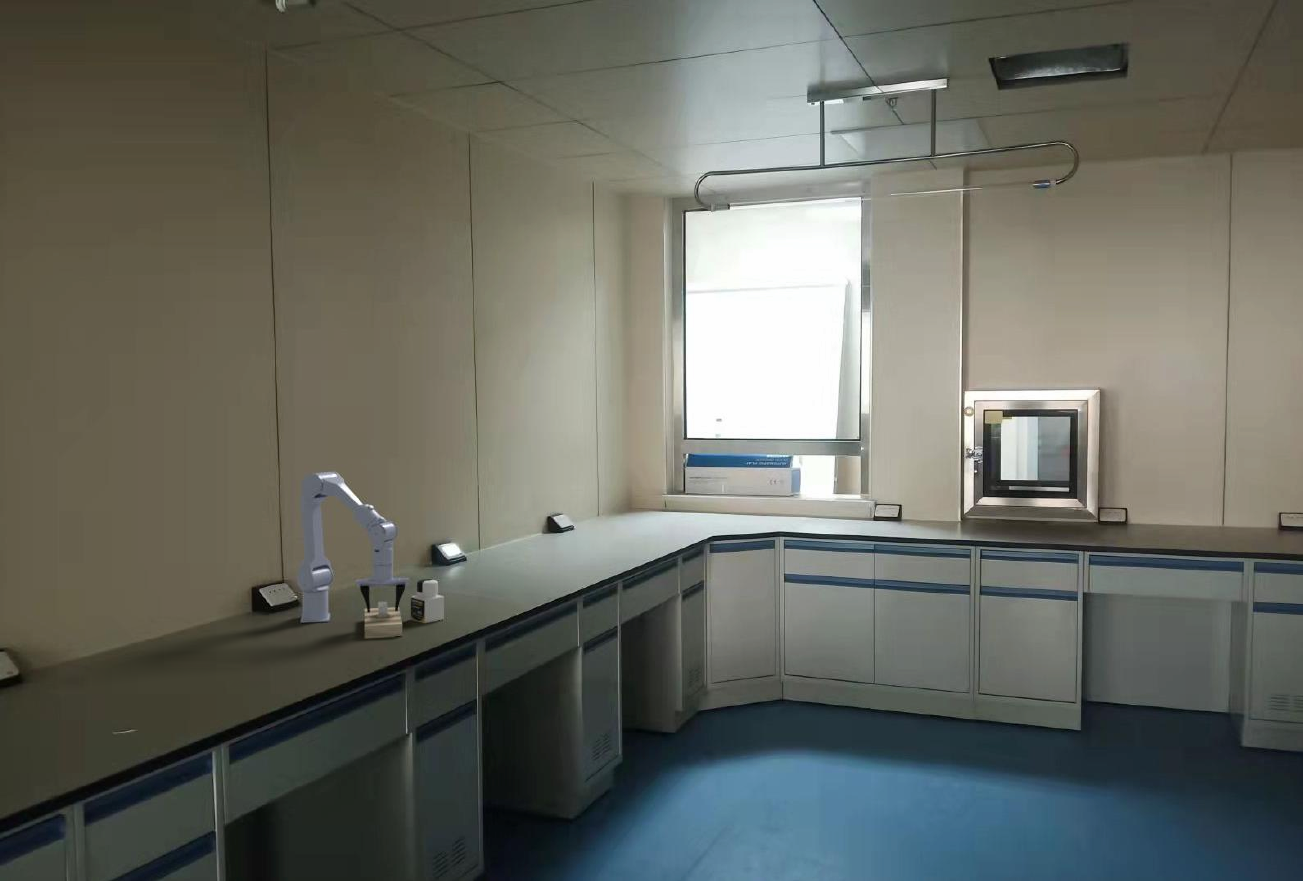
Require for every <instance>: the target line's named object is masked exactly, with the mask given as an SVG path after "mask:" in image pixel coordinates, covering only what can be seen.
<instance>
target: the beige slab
mask: <svg viewBox="0 0 1303 881" xmlns="http://www.w3.org/2000/svg"><path fill="white" fill-rule="evenodd" d="M395 636H402V637H403V622H402V615H401V610H400V606H398V611H395V606H394V607H387V618H378V607H374V608H371V607H370V613H367V608H364V639H380V638H382V639H383V638H396V637H395Z"/></svg>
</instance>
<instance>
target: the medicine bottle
mask: <svg viewBox="0 0 1303 881" xmlns="http://www.w3.org/2000/svg"><path fill="white" fill-rule="evenodd" d="M438 584H439V583H438V580H436V579H432V578H423V579H420V580H418V581H417V582H416V595H411V596H410V620H411V621H415V622H419V623H421V624H428V623H434V622H439V621H438V620H440V621H443V620H445V617H444V616H445V598H444V597H445V596H444V595H439V585H438ZM442 619H443V620H442Z"/></svg>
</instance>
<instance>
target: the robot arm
mask: <svg viewBox="0 0 1303 881" xmlns="http://www.w3.org/2000/svg"><path fill="white" fill-rule="evenodd" d="M301 487H302V492H301V495H300V508H301V509H300V511H301V527H302V540H303V553H304V558H303V560H302V561H301V562H300V564H299V565H298V572H297V575H296V583H297V586H298V587H299V588H300V592H302V615H301V617H300V623H324V622H329V621H330V619H331V612H329V589H330V586H331V585H332V583H333V582H334V576H335V575H334V571H333V569H332V566H331V561H330V559H328V558H327V557H326V556H325V548H324V534H323V533H324V532H323V520H322V509H321V508H322V507H321V506H322V505H321V504H322V503H323V502H324V500H325V499H326V498H327V497H329V496H330V497H335V498H336V499H338V501H340V502H341V503H342V504H343V505H344V506H345V507H346V508H348V509H349V510H350V511H351V512H352V513H353V519H354V521H356V522H357V523H358V524H359V525H360V526H361V527H362V528H363V529H364V530H365V531H366V532H367V537H368V540H369V541H370V544H371V549H372V566H371V567H372V568H371V569H372V570H371V572H372V578H364V579H356V580H355V581H356V587H355V588H358V589H359V588H360V589H359V590H360V592H361V595H362V598H363V599H364V601H365V605H366V609H367V613H370V608H371V605H370V588H372V587H395V604H394V607H395V611H398V607H400V606H399V605H400V603H401V602H400V601H401V599H402V596H403V594H404V592H405V589H406V587H409V585H410V579H409V577H394V540H396V538H397V536H398V528H397V526H396V524H395V523H394V521H391V520H386V519H385V517H383V516H381V515H380V514H379V513H378V512H377V511H376V509H375V507H374V505H371V504H368V503H367V504H366V503H365V504H363V503H362V502H361V501H360V500H359V498H358V497H357V496H356V495H355V493H353V491H352V490H351V489H350V488H349V487H348V486H347V485H346V484H345V479H344V478H343V477H342V476H341V475H340V474H339V473H338V472H336V470H335V471H334V470H330V471H326V472H312V473H308V474H307V475H306V476H305V477H304V478H303V479H302V481H301Z"/></svg>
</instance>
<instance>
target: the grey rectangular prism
mask: <svg viewBox="0 0 1303 881" xmlns="http://www.w3.org/2000/svg"><path fill="white" fill-rule="evenodd" d="M377 608H378V618H387V608H388V601H378V603H377Z"/></svg>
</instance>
